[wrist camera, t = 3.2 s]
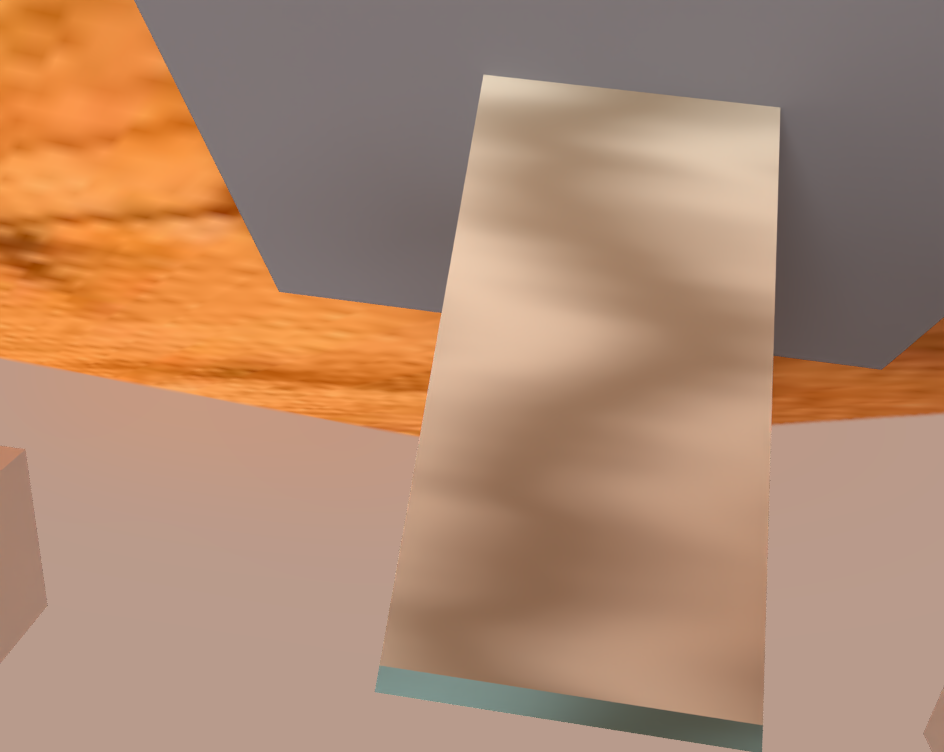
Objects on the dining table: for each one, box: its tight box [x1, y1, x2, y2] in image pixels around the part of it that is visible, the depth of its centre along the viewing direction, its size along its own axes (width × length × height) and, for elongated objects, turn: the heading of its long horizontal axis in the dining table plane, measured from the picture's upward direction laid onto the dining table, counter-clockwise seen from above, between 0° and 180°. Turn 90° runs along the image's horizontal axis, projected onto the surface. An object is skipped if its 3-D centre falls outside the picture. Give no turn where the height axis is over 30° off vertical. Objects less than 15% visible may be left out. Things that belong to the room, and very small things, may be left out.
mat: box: [134, 0, 944, 370], centre depth 21 cm, size 20×17×1 cm
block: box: [375, 75, 780, 752], centre depth 19 cm, size 6×8×12 cm
